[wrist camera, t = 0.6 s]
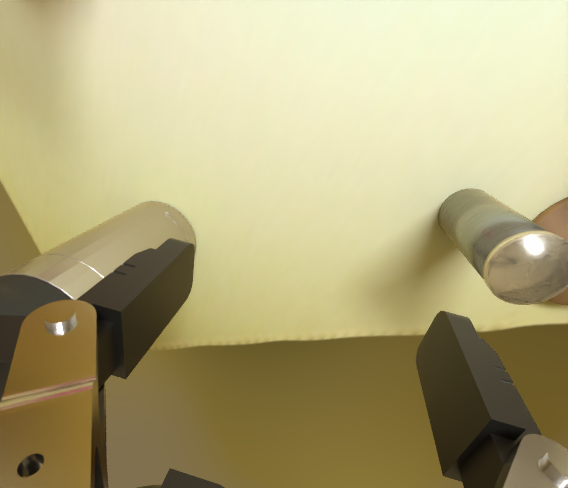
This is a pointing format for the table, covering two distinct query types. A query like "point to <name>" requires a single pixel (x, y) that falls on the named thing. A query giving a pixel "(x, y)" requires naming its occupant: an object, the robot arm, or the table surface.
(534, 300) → the grey can
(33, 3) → the table surface
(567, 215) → the disc
